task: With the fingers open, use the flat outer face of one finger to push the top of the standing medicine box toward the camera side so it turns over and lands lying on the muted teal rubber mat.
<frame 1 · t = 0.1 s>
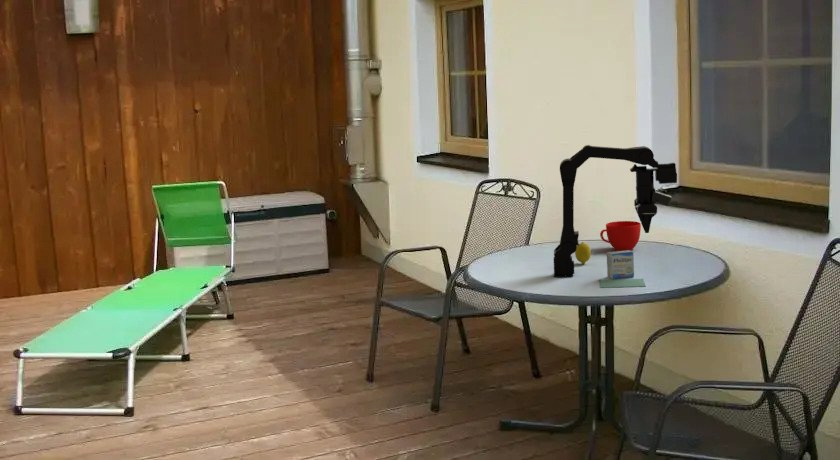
hand: (645, 230, 324), 15 cm above the table, tool pointing down, fingers open, 9 cm apart
ceramic cup: (619, 250, 368), on the table
medicine box: (620, 277, 323), on the table
lemon: (583, 264, 347), on the table
mat: (622, 283, 314), on the table
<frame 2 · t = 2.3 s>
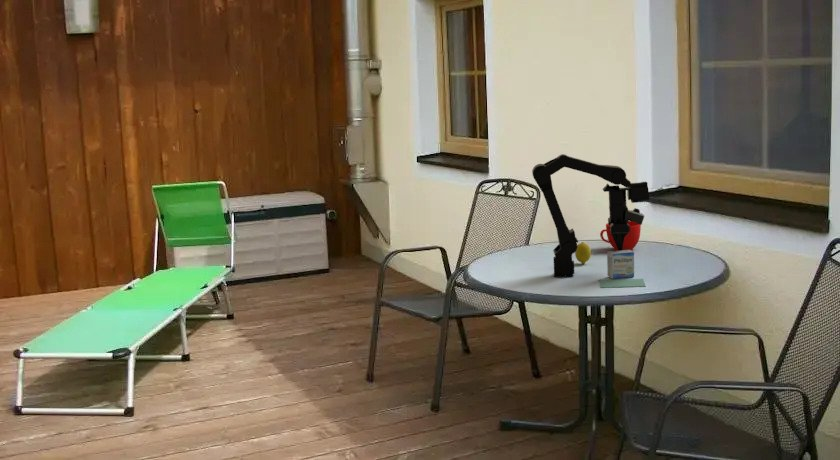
hand: (619, 249, 328), 8 cm above the table, tool pointing down, fingers open, 8 cm apart
medicine box: (620, 277, 323), on the table, touching gripper
everything else where it was.
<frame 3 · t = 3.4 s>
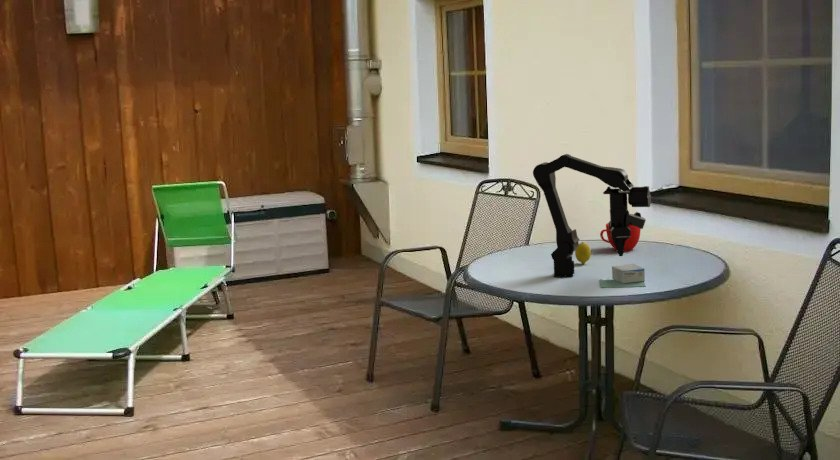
hand: (620, 253, 322), 8 cm above the table, tool pointing down, fingers open, 9 cm apart
medicine box: (622, 270, 321), point 2 cm above the table, touching mat
everything else where it was.
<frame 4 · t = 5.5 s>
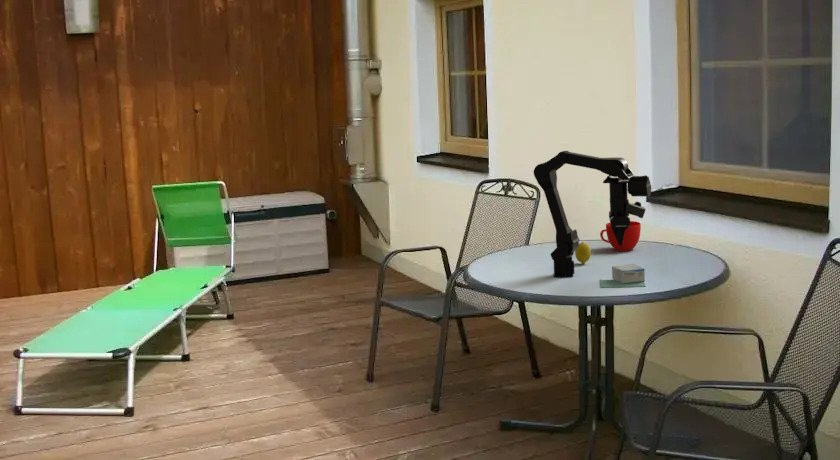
hand: (619, 243, 320), 12 cm above the table, tool pointing down, fingers open, 9 cm apart
nothing on the table moved.
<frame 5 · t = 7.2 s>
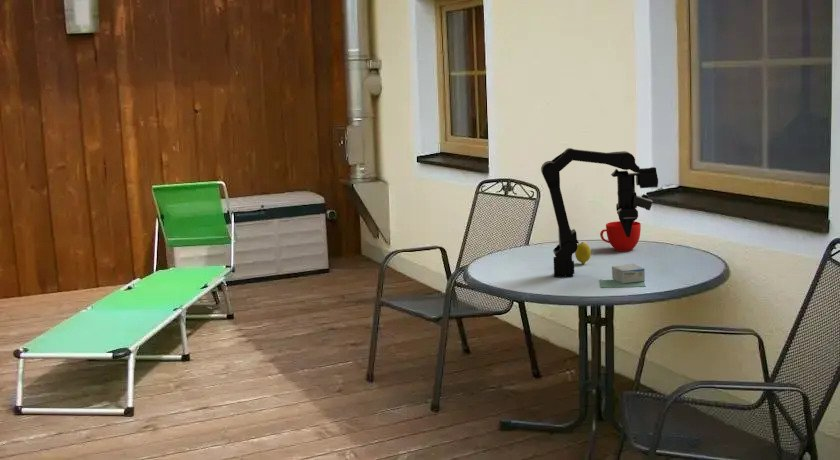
hand: (627, 234, 327), 13 cm above the table, tool pointing down, fingers open, 9 cm apart
nothing on the table moved.
at the end: medicine box tilted 90°; medicine box inside the target area (6.9 cm from its centre), point 2.4 cm above the table; the gripper is holding nothing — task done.
